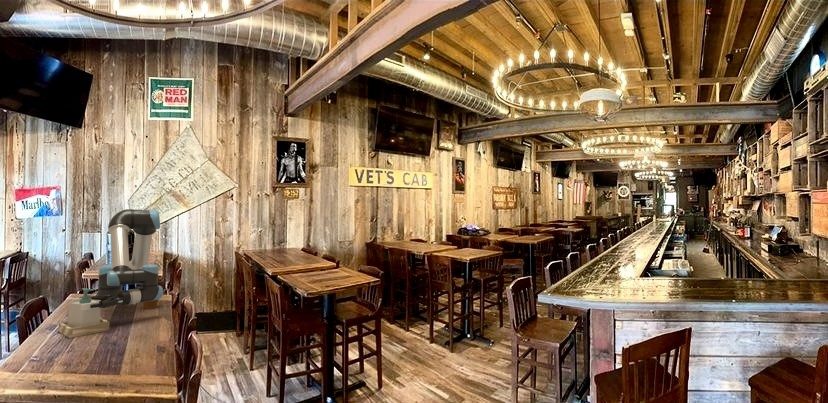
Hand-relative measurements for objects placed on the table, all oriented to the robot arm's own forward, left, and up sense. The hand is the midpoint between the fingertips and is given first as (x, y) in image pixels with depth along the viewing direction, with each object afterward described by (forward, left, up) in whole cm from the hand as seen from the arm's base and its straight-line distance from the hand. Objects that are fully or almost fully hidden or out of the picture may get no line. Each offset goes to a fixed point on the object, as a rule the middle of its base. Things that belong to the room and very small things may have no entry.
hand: (75, 305), depth 185 cm
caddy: (0, +4, -13) cm, 13 cm away
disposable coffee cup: (-21, +41, -13) cm, 48 cm away
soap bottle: (0, +4, -12) cm, 13 cm away
